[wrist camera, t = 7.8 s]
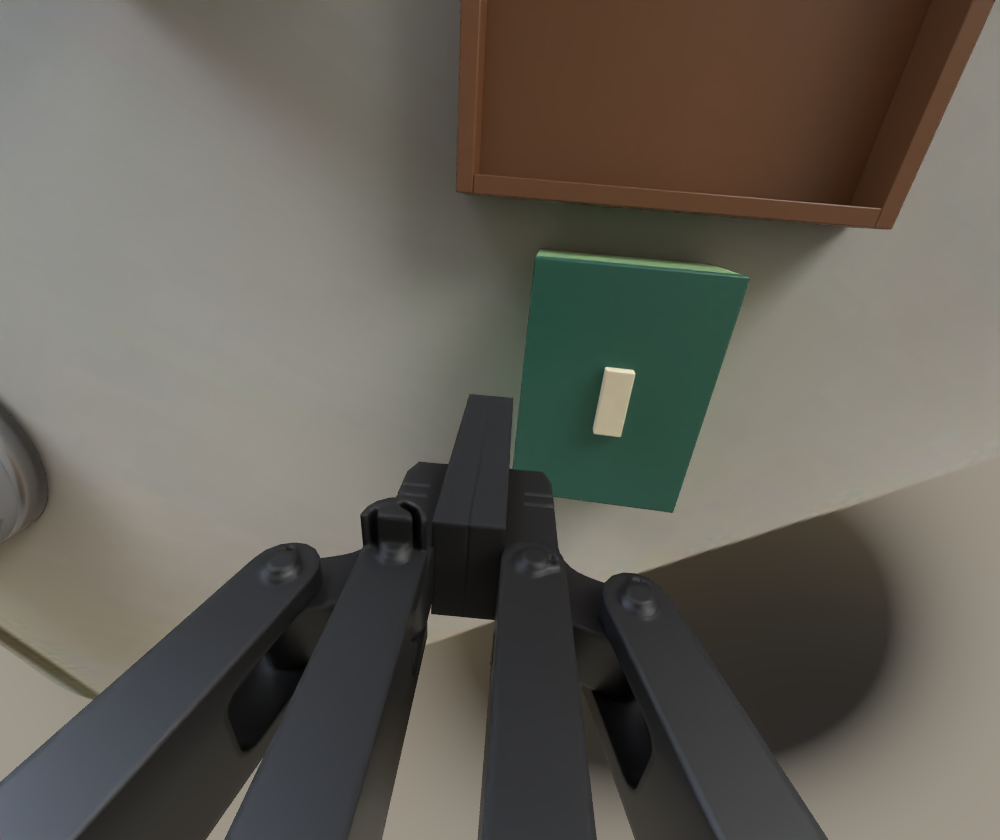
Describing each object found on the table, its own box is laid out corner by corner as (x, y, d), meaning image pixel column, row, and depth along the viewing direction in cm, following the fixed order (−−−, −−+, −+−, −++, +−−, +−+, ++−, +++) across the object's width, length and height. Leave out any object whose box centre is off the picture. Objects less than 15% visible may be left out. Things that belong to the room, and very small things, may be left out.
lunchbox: (508, 497, 21) (675, 520, 20) (534, 258, 16) (757, 279, 15) (517, 446, 25) (654, 464, 24) (539, 248, 20) (711, 264, 19)
